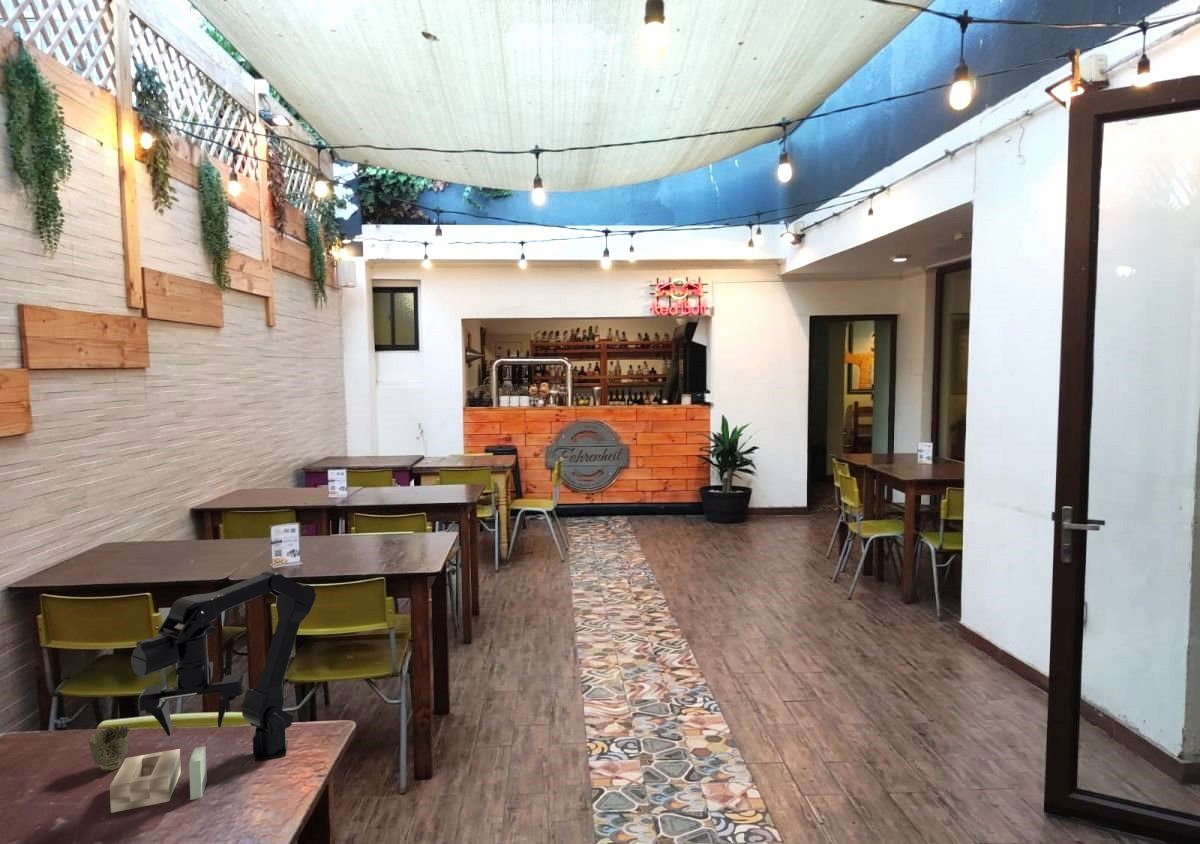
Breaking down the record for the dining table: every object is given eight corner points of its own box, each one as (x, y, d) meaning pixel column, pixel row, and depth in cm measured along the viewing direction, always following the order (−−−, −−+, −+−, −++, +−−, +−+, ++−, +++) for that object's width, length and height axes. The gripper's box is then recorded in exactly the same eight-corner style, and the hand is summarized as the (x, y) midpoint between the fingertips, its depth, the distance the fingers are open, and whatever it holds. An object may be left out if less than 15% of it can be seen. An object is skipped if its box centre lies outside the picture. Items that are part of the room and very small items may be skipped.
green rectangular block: (207, 781, 145) (205, 745, 144) (201, 797, 139) (200, 760, 139) (195, 784, 144) (194, 747, 143) (190, 800, 138) (188, 762, 138)
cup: (109, 779, 145) (107, 743, 145) (81, 775, 147) (79, 740, 147) (139, 760, 153) (137, 726, 152) (112, 757, 154) (111, 723, 154)
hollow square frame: (180, 772, 148) (179, 748, 148) (169, 801, 138) (168, 775, 137) (127, 782, 144) (126, 758, 144) (111, 812, 134) (109, 786, 134)
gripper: (247, 638, 151) (250, 705, 152) (150, 650, 144) (153, 720, 145) (239, 657, 140) (242, 729, 141) (135, 671, 134) (138, 746, 135)
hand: (195, 730), depth 141 cm, fingers open, 9 cm apart
